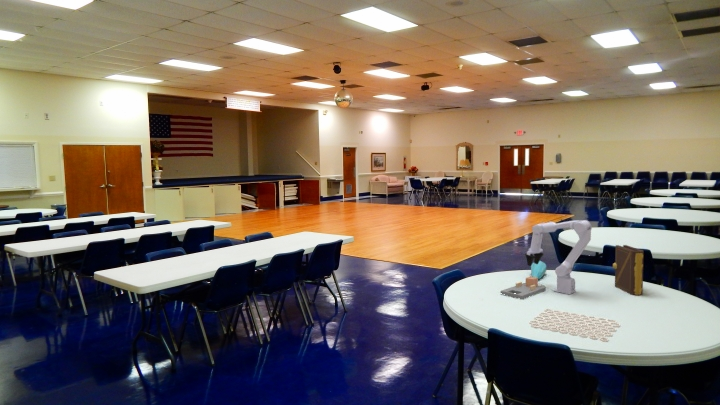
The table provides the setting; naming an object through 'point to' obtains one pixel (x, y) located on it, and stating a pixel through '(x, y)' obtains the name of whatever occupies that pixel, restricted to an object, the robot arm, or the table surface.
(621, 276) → the book
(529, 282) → the block
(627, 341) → the table surface
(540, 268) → the crystal
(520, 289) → the plate
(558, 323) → the honeycomb grid
